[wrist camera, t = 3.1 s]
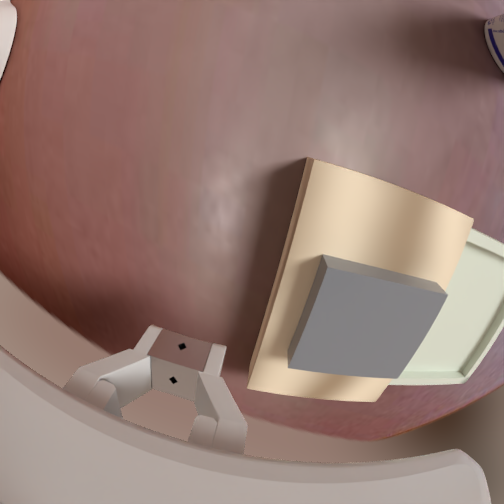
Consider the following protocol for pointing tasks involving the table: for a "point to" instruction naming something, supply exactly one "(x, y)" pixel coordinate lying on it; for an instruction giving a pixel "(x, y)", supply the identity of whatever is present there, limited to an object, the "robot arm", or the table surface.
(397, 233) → the tan flat block
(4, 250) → the table surface
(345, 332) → the coaster
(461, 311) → the tray
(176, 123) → the table surface
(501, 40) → the energy drink
